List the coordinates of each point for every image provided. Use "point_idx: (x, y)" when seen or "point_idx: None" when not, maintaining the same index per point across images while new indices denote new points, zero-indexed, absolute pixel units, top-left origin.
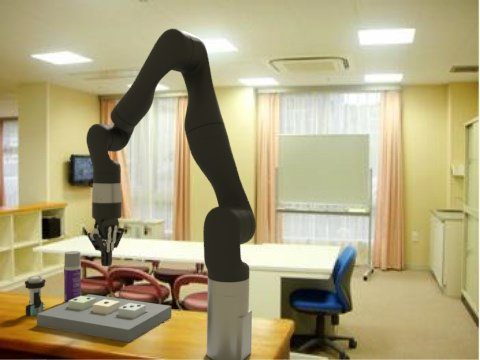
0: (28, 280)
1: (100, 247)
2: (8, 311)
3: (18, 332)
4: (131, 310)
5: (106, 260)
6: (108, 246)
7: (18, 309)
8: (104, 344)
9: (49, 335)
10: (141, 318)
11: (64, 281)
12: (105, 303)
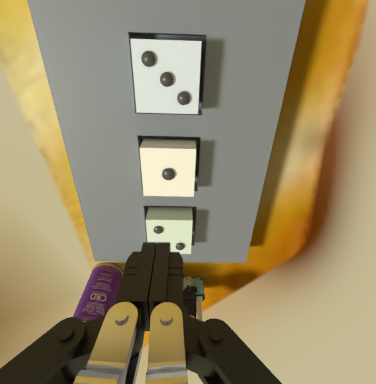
0: None
1: (249, 354)
2: (196, 310)
3: (277, 249)
4: (200, 56)
5: (173, 267)
6: (164, 343)
7: None
8: (313, 59)
9: (280, 201)
10: (195, 12)
11: None
12: (174, 172)
